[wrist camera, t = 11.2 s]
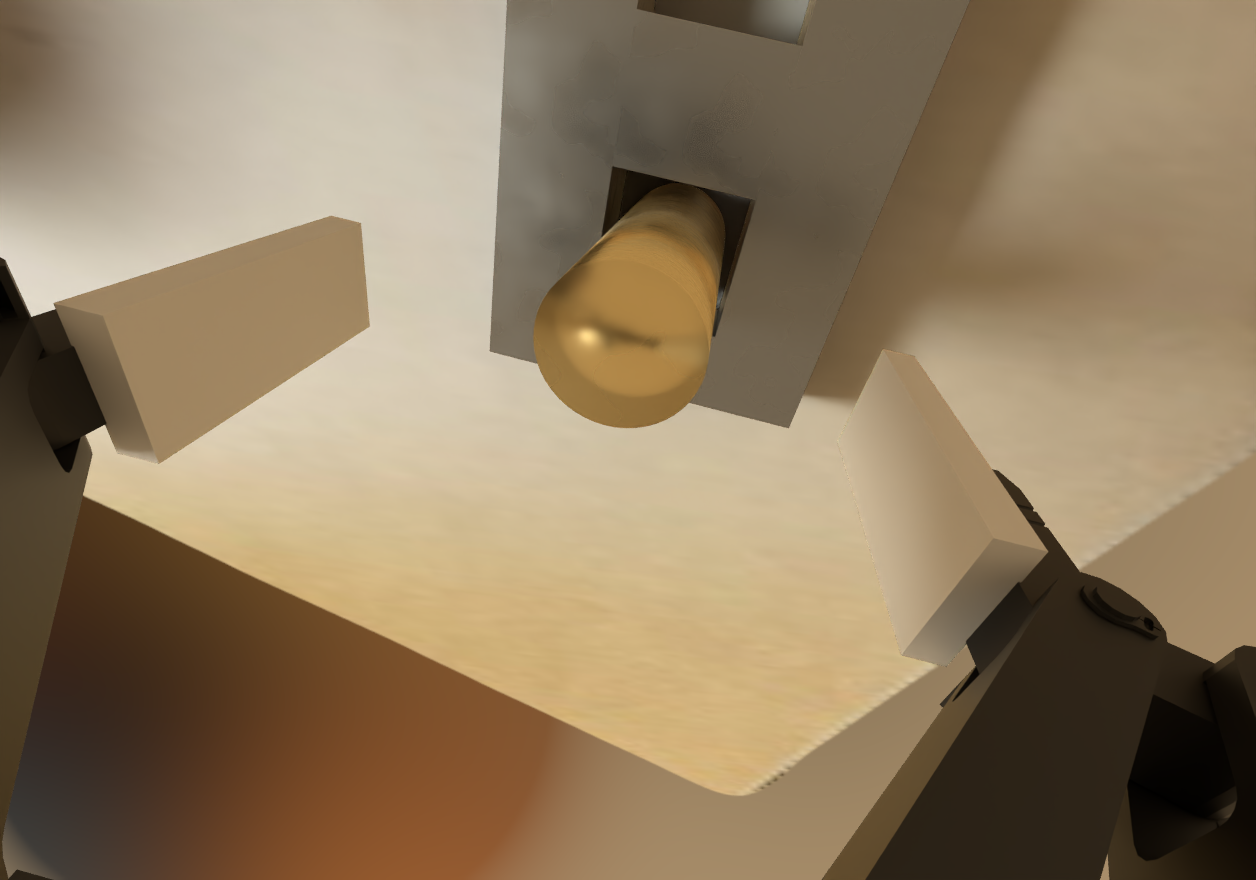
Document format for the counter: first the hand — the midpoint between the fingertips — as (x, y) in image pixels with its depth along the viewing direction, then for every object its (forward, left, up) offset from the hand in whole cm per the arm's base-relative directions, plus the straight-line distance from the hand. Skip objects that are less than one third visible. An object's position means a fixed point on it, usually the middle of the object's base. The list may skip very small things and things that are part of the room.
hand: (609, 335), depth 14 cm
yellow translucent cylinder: (0, 0, -13) cm, 13 cm away
